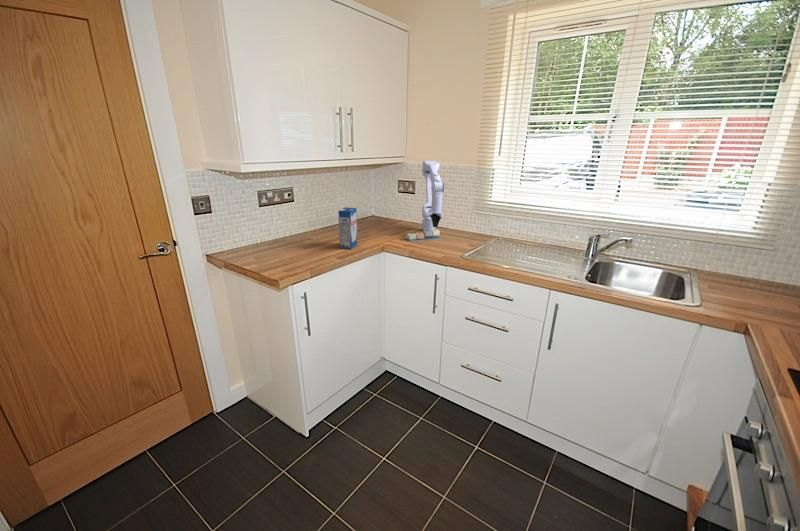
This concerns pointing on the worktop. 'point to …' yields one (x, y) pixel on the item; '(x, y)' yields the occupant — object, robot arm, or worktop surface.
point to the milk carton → (348, 228)
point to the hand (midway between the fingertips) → (435, 226)
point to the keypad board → (425, 238)
